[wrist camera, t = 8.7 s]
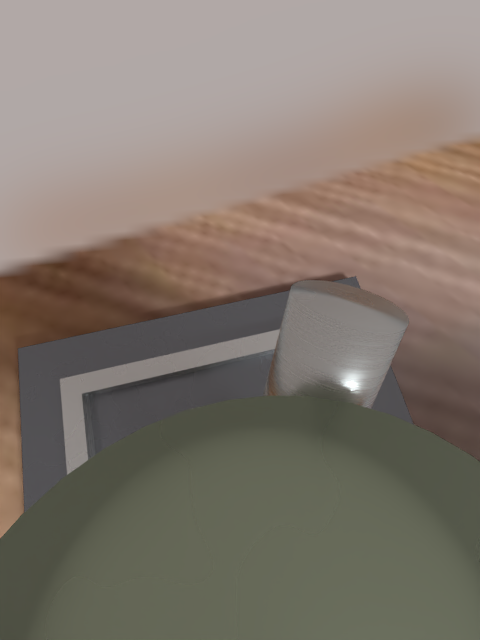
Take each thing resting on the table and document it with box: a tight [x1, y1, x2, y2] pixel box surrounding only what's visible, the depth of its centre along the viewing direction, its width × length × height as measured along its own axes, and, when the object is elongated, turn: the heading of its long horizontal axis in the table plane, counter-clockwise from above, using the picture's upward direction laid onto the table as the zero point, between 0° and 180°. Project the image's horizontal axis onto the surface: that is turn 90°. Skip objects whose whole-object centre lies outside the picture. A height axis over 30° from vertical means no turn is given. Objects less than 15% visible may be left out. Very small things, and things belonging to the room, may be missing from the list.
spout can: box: [0, 280, 480, 640], centre depth 8 cm, size 8×6×13 cm
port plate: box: [18, 276, 413, 512], centre depth 17 cm, size 20×20×2 cm
